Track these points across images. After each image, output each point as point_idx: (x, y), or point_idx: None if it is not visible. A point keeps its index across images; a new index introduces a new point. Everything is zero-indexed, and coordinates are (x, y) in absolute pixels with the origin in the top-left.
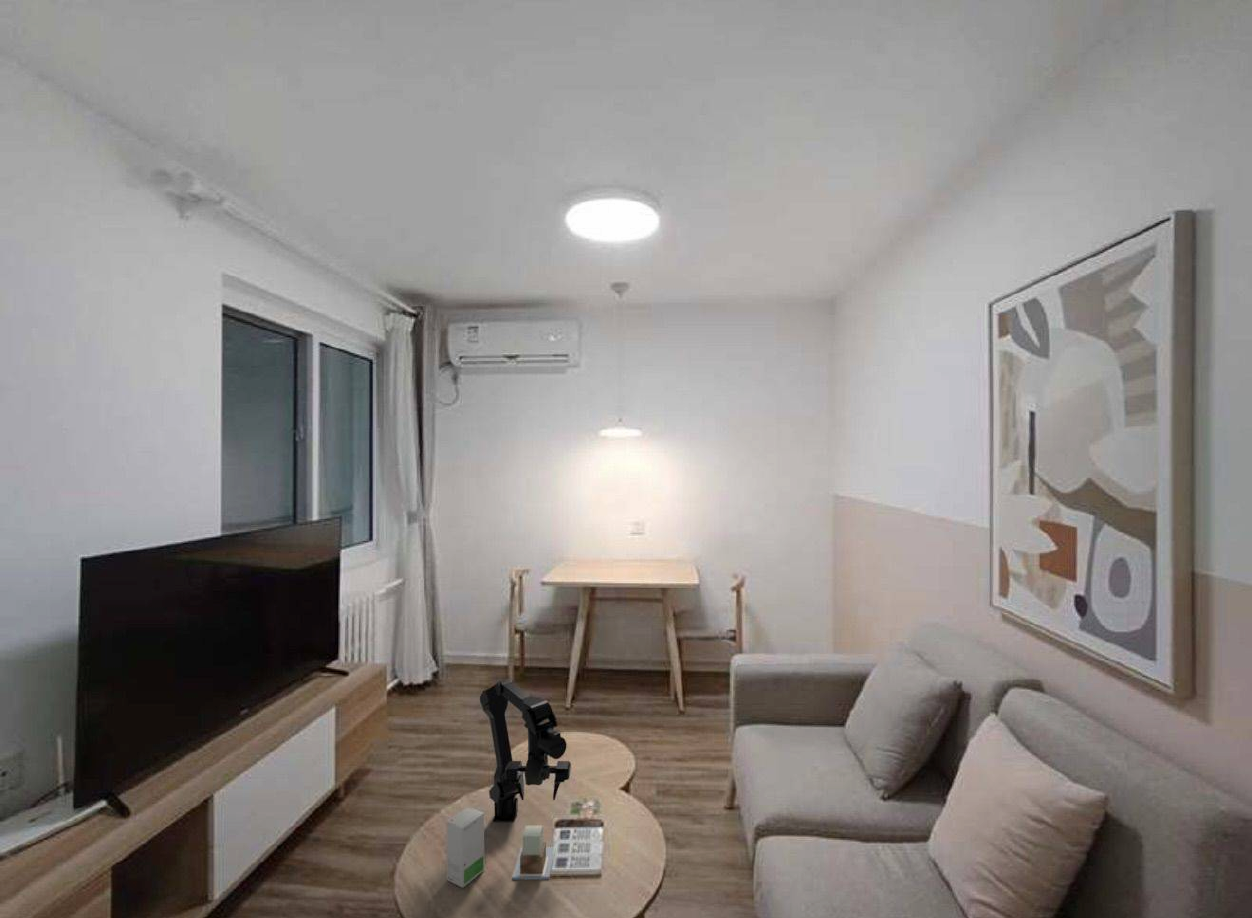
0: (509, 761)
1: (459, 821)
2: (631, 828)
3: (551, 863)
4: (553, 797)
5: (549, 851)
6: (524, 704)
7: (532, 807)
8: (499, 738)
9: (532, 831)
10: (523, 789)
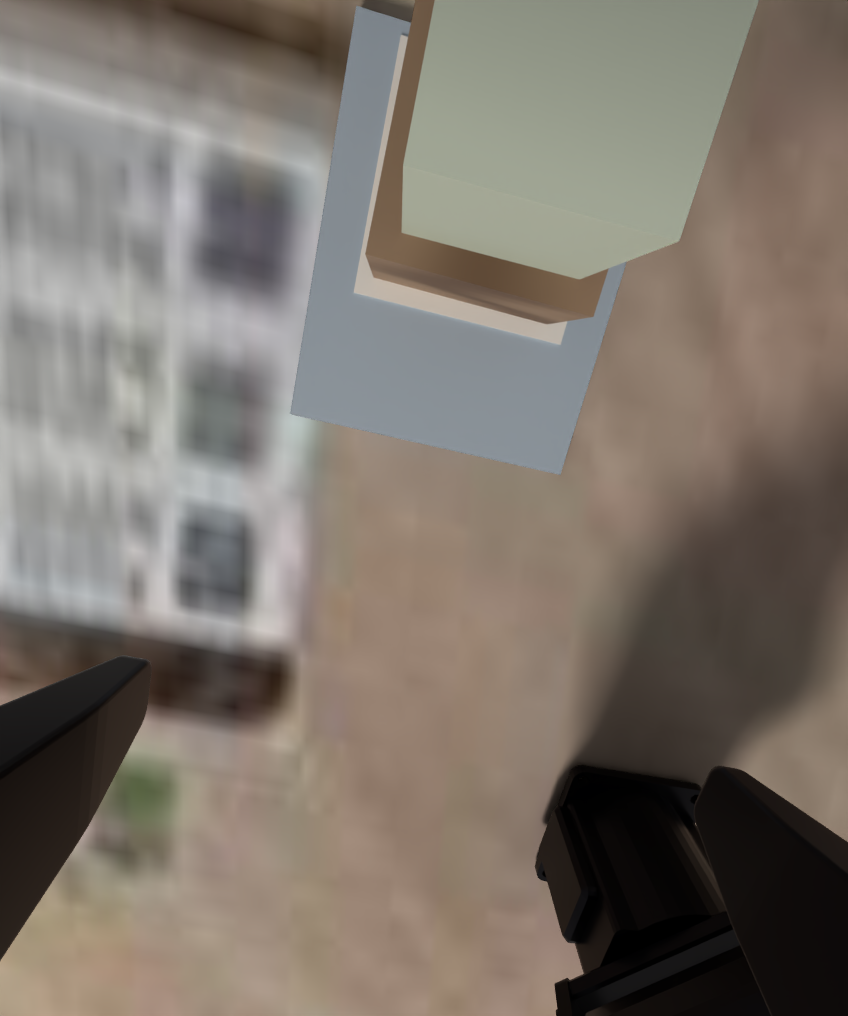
0: None
1: None
2: None
3: (330, 200)
4: (113, 685)
5: (341, 366)
6: None
7: (436, 868)
8: None
9: (597, 13)
10: (799, 991)
